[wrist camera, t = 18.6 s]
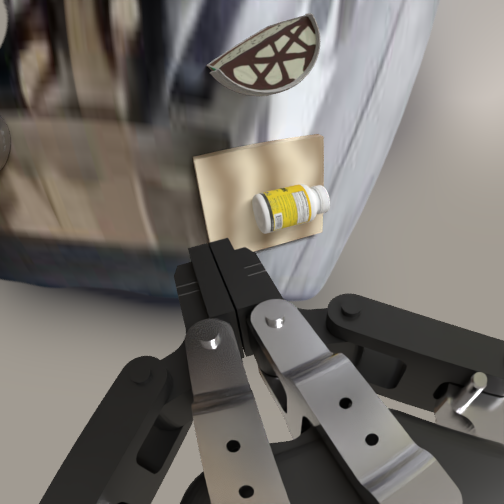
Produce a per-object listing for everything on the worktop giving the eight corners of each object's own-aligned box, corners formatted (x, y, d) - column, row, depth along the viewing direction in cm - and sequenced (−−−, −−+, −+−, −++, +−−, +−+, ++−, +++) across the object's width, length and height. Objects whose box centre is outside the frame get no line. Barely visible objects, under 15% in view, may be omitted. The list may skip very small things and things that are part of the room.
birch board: (212, 256, 47) (214, 262, 46) (192, 156, 38) (194, 160, 36) (317, 227, 51) (322, 232, 50) (318, 134, 41) (323, 136, 40)
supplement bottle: (248, 200, 43) (310, 187, 45) (259, 237, 43) (321, 221, 45) (256, 188, 38) (324, 174, 40) (268, 230, 38) (337, 212, 40)
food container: (225, 109, 36) (251, 122, 28) (196, 72, 32) (213, 72, 24) (300, 58, 34) (344, 60, 26) (276, 21, 30) (316, 11, 23)
